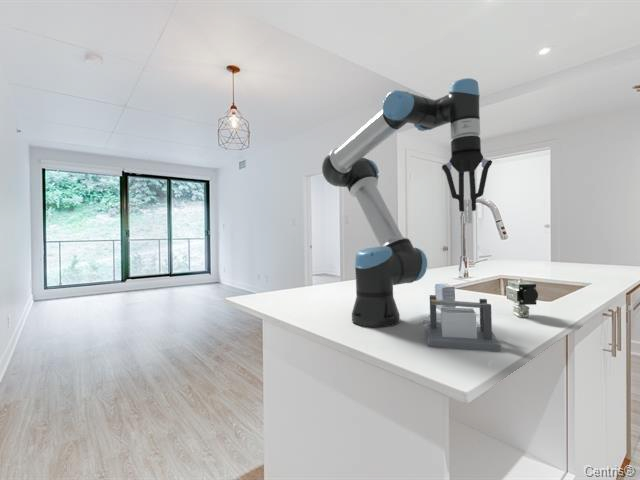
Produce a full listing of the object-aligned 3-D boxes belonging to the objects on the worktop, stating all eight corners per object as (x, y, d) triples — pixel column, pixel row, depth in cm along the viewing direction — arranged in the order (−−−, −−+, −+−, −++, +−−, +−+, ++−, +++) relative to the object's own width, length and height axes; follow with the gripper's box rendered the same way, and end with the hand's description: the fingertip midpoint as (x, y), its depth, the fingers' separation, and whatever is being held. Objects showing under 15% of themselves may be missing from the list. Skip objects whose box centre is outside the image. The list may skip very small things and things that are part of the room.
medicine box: (456, 312, 115) (455, 286, 115) (442, 312, 115) (442, 287, 115) (447, 306, 123) (446, 283, 123) (435, 307, 123) (434, 283, 123)
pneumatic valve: (520, 311, 112) (519, 275, 112) (539, 321, 101) (538, 281, 100) (502, 311, 113) (501, 276, 113) (519, 321, 101) (519, 281, 101)
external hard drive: (458, 318, 110) (450, 328, 99) (433, 315, 114) (423, 324, 104) (458, 313, 110) (450, 322, 99) (433, 310, 114) (422, 319, 103)
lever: (431, 306, 87) (431, 301, 87) (430, 302, 91) (431, 297, 91) (489, 310, 83) (489, 305, 83) (486, 306, 87) (486, 301, 87)
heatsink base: (428, 346, 83) (427, 304, 83) (427, 329, 96) (426, 293, 96) (500, 351, 78) (499, 306, 78) (489, 332, 91) (488, 294, 91)
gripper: (439, 138, 92) (442, 224, 93) (494, 131, 88) (497, 221, 88) (439, 144, 99) (442, 224, 100) (490, 138, 95) (492, 222, 95)
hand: (467, 223), depth 94 cm, fingers closed
